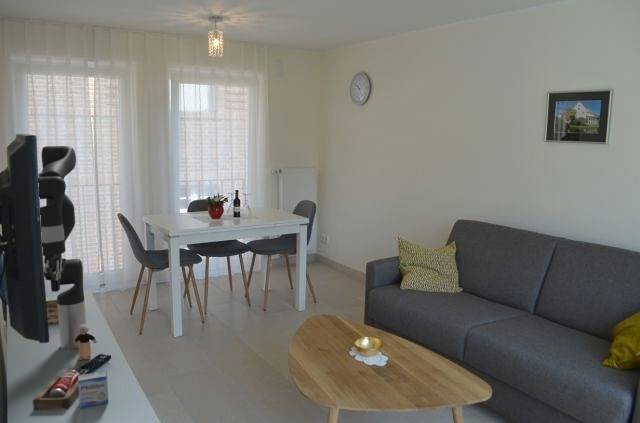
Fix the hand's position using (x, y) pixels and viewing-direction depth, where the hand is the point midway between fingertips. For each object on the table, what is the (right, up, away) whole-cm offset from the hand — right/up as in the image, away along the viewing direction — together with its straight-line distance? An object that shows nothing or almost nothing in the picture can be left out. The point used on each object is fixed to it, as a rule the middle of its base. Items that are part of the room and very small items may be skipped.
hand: (55, 290), depth 167 cm
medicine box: (+18, -32, -13) cm, 39 cm away
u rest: (+7, -31, -10) cm, 33 cm away
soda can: (+7, -27, -3) cm, 28 cm away
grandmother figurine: (+2, -27, +17) cm, 32 cm away
